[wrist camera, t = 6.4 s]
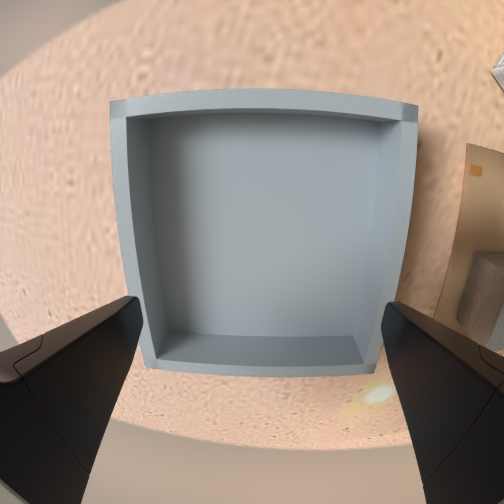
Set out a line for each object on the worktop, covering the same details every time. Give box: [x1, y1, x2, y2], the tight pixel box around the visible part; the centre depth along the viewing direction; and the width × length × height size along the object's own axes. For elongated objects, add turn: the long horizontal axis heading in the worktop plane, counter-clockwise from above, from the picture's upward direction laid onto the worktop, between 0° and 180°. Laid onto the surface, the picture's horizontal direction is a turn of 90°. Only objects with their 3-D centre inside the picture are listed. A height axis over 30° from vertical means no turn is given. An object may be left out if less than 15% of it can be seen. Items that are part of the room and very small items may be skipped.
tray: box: [110, 89, 418, 377], centre depth 15 cm, size 14×13×4 cm
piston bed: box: [434, 143, 504, 340], centre depth 16 cm, size 14×8×1 cm, turn 0°
